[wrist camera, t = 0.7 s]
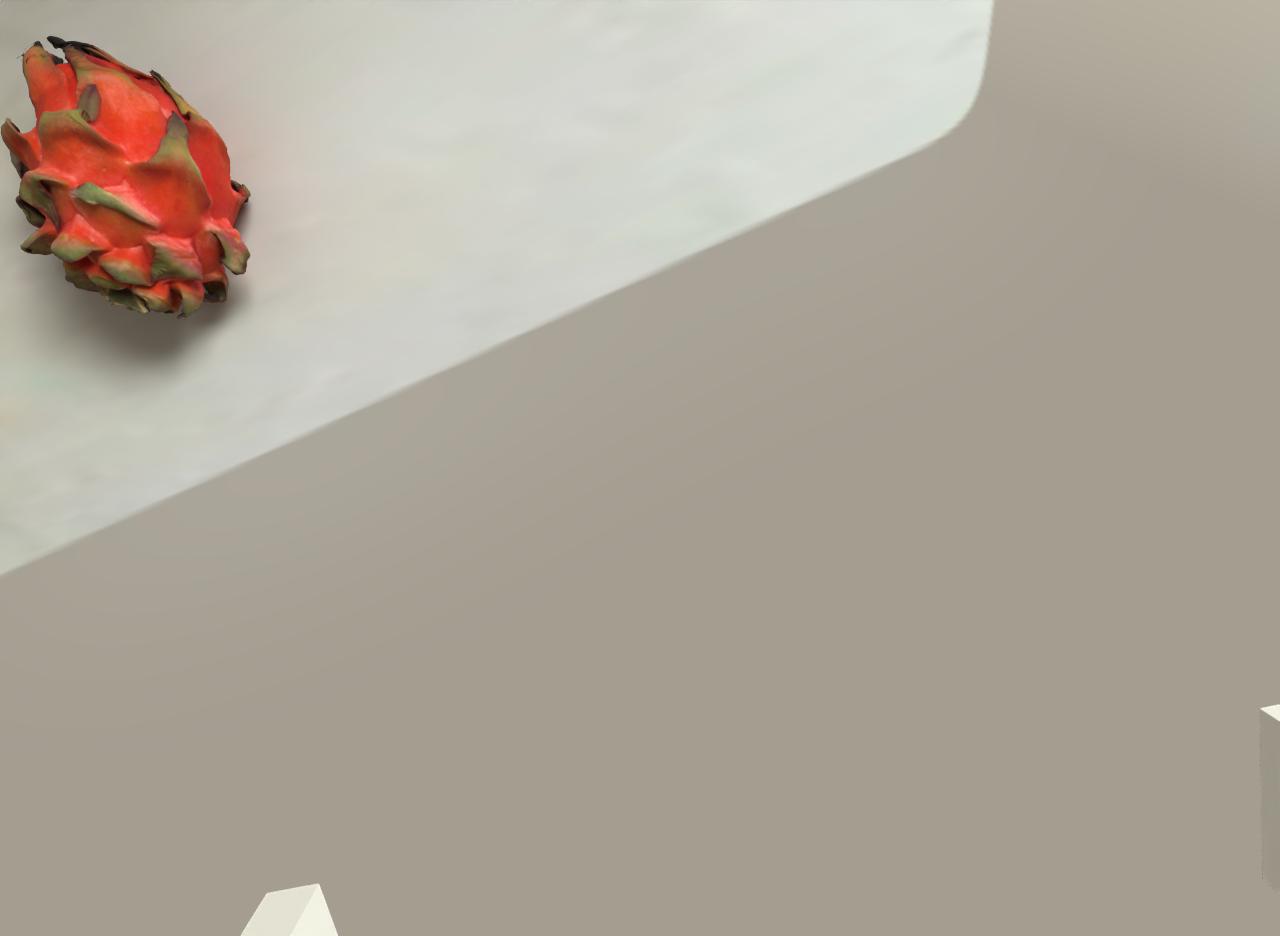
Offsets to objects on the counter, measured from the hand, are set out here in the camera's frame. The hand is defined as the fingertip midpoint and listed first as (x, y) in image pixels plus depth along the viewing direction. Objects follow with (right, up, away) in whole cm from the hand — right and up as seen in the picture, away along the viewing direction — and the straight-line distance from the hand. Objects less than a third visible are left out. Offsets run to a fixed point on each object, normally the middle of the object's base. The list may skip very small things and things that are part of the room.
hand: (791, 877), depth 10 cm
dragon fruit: (-24, +19, +24) cm, 39 cm away
